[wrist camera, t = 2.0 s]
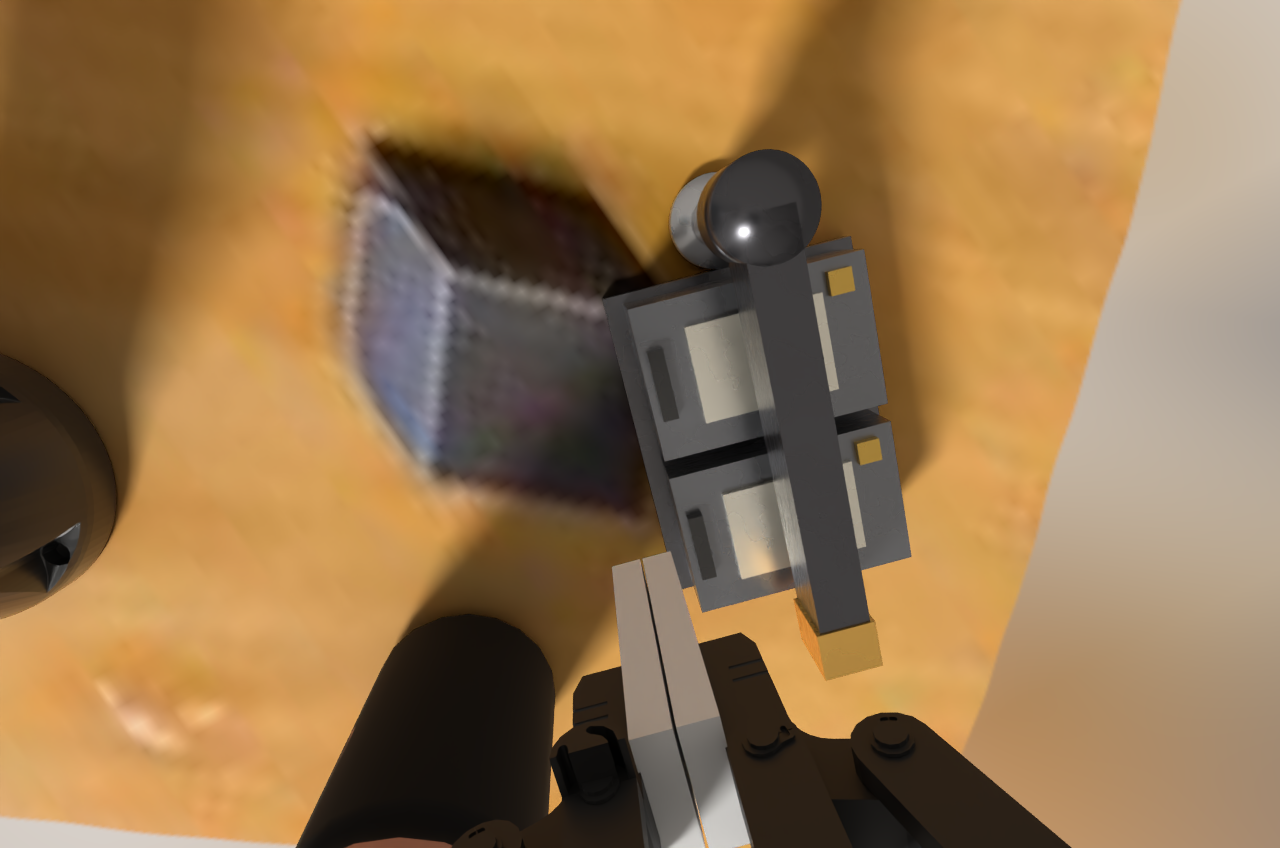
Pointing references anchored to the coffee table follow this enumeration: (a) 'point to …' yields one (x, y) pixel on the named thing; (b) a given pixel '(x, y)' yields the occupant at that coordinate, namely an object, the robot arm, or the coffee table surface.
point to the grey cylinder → (691, 226)
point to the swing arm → (793, 394)
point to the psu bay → (750, 424)
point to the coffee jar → (443, 741)
